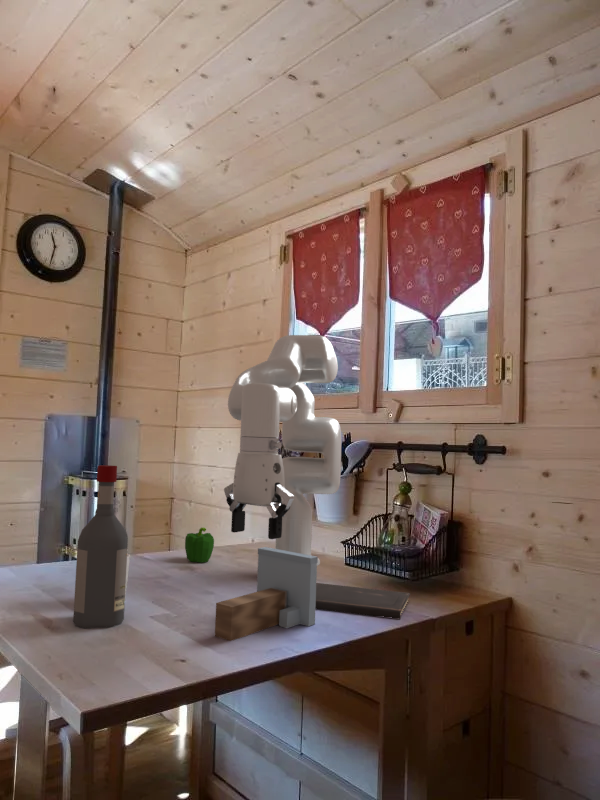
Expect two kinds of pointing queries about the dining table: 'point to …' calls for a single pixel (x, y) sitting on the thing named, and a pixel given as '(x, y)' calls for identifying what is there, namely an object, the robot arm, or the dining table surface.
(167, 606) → the dining table surface
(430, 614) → the dining table surface
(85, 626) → the liquor
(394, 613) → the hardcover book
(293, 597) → the panel
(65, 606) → the dining table surface
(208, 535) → the bell pepper
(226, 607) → the brown wooden block
